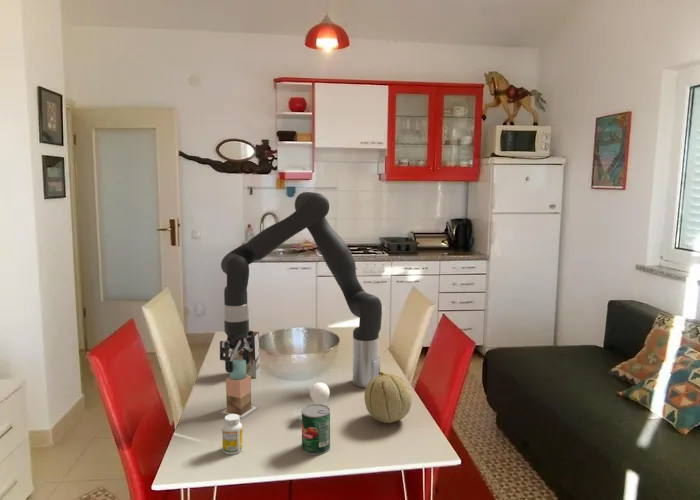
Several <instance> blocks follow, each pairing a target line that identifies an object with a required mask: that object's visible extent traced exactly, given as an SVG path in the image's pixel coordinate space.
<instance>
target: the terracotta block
mask: <svg viewBox="0 0 700 500" xmlns="http://www.w3.org/2000/svg"><path fill="white" fill-rule="evenodd" d="M225 392H226V393H225V394H226V395H228V396H232V397H237V398H242V397H244V396H245V395H247V394H248V393H250V392H251V393H252V378H251V375H246V378H244V379H242V380H232V379H231V378H230V376H228V377H226V378H225ZM226 395H225V396H226Z"/></svg>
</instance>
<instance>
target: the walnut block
mask: <svg viewBox="0 0 700 500" xmlns="http://www.w3.org/2000/svg"><path fill="white" fill-rule="evenodd" d="M225 396H226V400H225V401H226V407H227V412H230V413H234V414H238V415H242V414H243V413H245V412H246V411H248V410H249V409H251V405H252V391H251V392H250V393H248V394H247V395H245V396H244V397H242V398H237V397H232V396H228V395H225Z"/></svg>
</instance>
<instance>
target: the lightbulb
mask: <svg viewBox="0 0 700 500" xmlns="http://www.w3.org/2000/svg"><path fill="white" fill-rule="evenodd" d="M309 396H310V398H311V400H312V401H313V404H321V405H325V406H326V403H327V401H328V400H329V398H330V388H329V386H328V385H327V384H326V383H323V382H316V383H315V384H313V385H312V386H311V387H310V391H309Z"/></svg>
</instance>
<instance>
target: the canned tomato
mask: <svg viewBox="0 0 700 500" xmlns="http://www.w3.org/2000/svg"><path fill="white" fill-rule="evenodd" d="M300 412H301V451H302V452H304V453H305V454H307V455H311V456H313V455H314V456H317V455H318V456H320V455H323V454H325V453H327V452H328V451H330V448H331V409H330V407H329V406H327V405H326V404H325V405H321V404H314V403H313V404H308V405H306V406H303V408H302V409H301V411H300Z"/></svg>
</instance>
